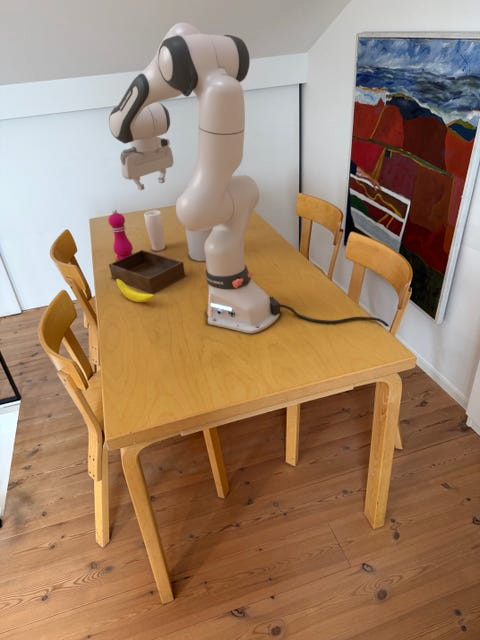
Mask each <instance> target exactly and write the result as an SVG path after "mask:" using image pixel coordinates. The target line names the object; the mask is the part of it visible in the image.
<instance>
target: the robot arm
mask: <svg viewBox="0 0 480 640" xmlns="http://www.w3.org/2000/svg"><path fill="white" fill-rule="evenodd" d="M250 63H251V61H250V51H249V49H248V47H247V44H246V43H245V41H244V40H243V39H242V38H240V37H238V36H235V35H230V34H224V35H220V34H206V33H202V32H201V31H200V30H199V29H198V28H197V27H196V26H195V25H193V24H191V23H188V22H178V23H176V24H174V25H172V27H171V28H170V29H169V30H168V32H167V33H166V34H165V36H164V37H163V39H162V41H161V42H160V44H159V46H158V49H157V51H156V54H155V56H154V57H153V59H152V60H151V62H150V63H149V64H148V65H147V66H146V67H145V68H144V69H143V70H142V72H140V73H138V74H137V76H136V77H135V78H134V79H133V80H132V82H131V83H130V84H129V86H128V88H127V89H126V91H125V93H124V95H123V96H122V98H121V100H120V102H119V103H118V105H117V106H115V107H113V109H112V110H111V112H110V114H109V116H108V126H109V127H108V128H109V130H110V133H111V135H112V136H113V138H115V139H116V140H117V141H119V142H121V143H122V144H125V145H126V144H128V143H130V147H129V148H126V149H123V150H122V151H121V153H120V155H119V159H120V167H121V175H122V178H124V179H125V180H129V181H130V180H131V181H133V182H134V183H135V185H136V186H137V190H138V191H143V190H145V184H144V183H141V177H143V176H147V175H150V174H153V173H156V172H159V177H158V178H157V180H158V183H159V184H164V183H166V178H165V177H166V174H167V169H168V168H172V167H173V166H174V155H173V151H172V148H171V147H170V144H171V143H170V139H169V138H164V137H160V136H163V135H166V134H167V133H168V131H169V129H170V126H171V117H170V112H169V110H168V109H167V107H166V106H165V105H164V104H162V103H161V102H162V101H166V100H170V99H174V98H177V97H180V96H184V97H186V98H187V97H189V96H191V94H192V93H194V94H195V96H196V98H197V101H198V135H197V136H198V137H197V138H198V139H197V158H196V161H195V162H196V163H195V166H194V169H193V172H192V176H191V178H190V181H189V182H188V185H187V187H186V188H185V190H184V191H183V192H182V193H181V195H180V196H179V197H178V199H176V203H175V214H176V217H177V220H178V221H179V223H180V225H182V226H183V228H184V229H185V228H186V229H187V230H189V231H201V230H207V229H210V228H213V230H212V232H211V234H210V235H209V237H208V238H207V240H206V242H205V245H204V250H205V258H206V261H205V266H206V269H205V279H206V283H207V284H208V299H207V301H208V303H207V308H206V315H207V324H209V325H211V326H215V327H221V328H224V329H229V330H233V331H238V332H241V333H245V334H256V333H259V332H262V331H263V330H265V329H267V328H269V327H271V326H272V325H273V324H274V323H275V322H276V321H277V320H278V319H279V317H280V314H281V313H282V312H281V308H283V309H286V310H289V311H291V312H292V313H293V315H295V316H296V317H298V318H300V319H303V320H305V321H309V322H312V323H313V322H314V323H321V324H339V323H344V322H350V321H356V320H364V321H366V320H367V321H376V322H379V323H381V324H383V325H384V326H385V327H390V325H389V324H388V323H387V322H386V321H385V320H384V319H381V318H379V317H373V316H351V317H347V318H342V319H335V320H334V319H333V320H328V319H327V320H326V319H316V318H310V317H307V316H304V315H302V314H300V313H298V312H297V311H296V310H295V309H294V308H292V307H291V306H288V305H286V304H281V303H280V302H279V301H278V300H277V299H276V298H275V297H274V296H269V295H268V294H267V293H266V292H265V290H264V289H263V288H262V287H259V285H258V284H256V282H254V281H253V280H252V276H254V274H253V273H254V271H251V272H250V271H249V270H248V267H247V265H246V264H245V262H246V261H245V260H246V259H245V237H246V231H247V227H248V224H249V221H250V217H251V215H252V214H253V211H254V210H255V208H256V207H257V205H258V204H259V202H260V189H259V186H258V184H257V183H256V181H255V180H254V179H253V177H252V176H251V177H250V176H249V175H247V174H244V175H243V174H237V175H234V173H235V172H236V171H237V169H238V168H239V167H240V165H242V162H243V157H244V143H245V142H244V141H245V126H246V125H245V124H246V109H245V108H246V107H245V96H244V89H243V85H242V84H241V82H243V81H244V80H245V79H246V77H247V76H248V73H249V69H250ZM186 229H185V230H186Z"/></svg>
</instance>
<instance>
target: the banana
mask: <svg viewBox="0 0 480 640" xmlns="http://www.w3.org/2000/svg"><path fill="white" fill-rule="evenodd" d="M115 279H116V280H115ZM115 279H114V280H115V281H116V284H117V286H118V289H119V290H120V291H121V293H122V294H123V296H125V297H126V299H128V300H130V301H132V302H135V303H147V302H150V301H151V300H152V299H153V298H154V295H155V294H154V293H153V294H152V293H143V292H140V291H136V290H134V289H132V288H130V287H129V286H128V284H126V283H124V282H122V281H121V280H119V279H118V278H117V277H115Z"/></svg>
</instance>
